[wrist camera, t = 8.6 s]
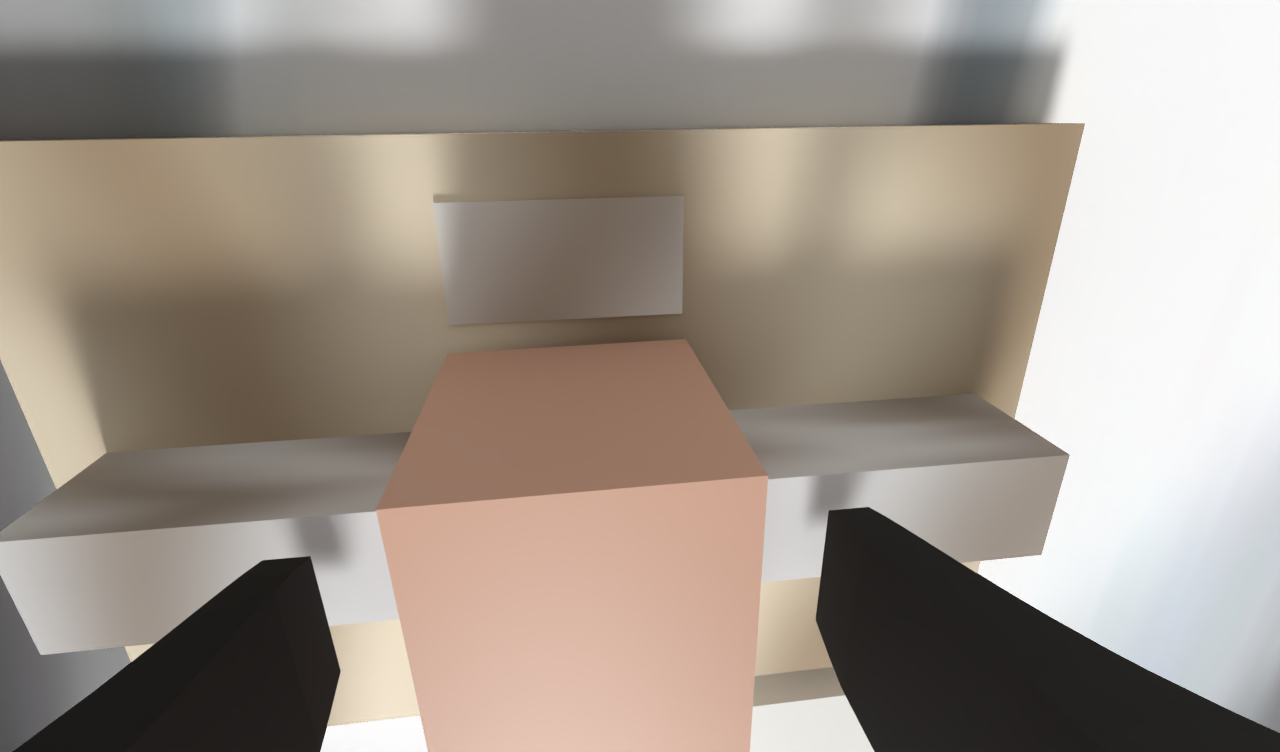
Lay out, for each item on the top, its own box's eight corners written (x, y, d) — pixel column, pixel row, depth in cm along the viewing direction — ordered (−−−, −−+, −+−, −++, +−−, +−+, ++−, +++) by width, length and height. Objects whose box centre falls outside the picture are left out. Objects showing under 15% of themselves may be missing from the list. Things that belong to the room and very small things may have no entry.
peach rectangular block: (486, 617, 12) (452, 864, 8) (447, 353, 10) (375, 510, 6) (683, 596, 13) (745, 820, 9) (685, 339, 11) (768, 475, 7)
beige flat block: (192, 704, 14) (85, 876, 11) (-32, 141, 10) (-327, 150, 6) (935, 622, 16) (1029, 746, 13) (1043, 123, 12) (1230, 124, 8)
